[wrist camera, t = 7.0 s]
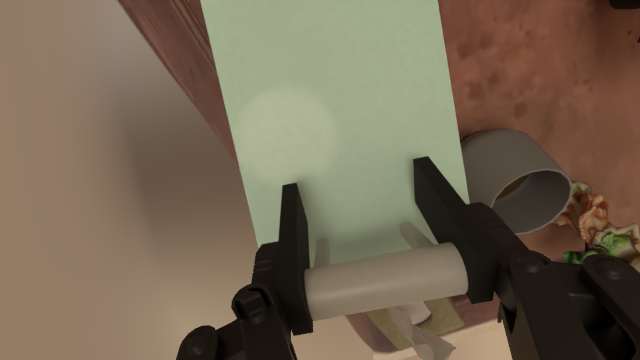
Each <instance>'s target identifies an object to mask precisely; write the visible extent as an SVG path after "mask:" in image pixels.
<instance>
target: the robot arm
mask: <svg viewBox="0 0 640 360" xmlns="http://www.w3.org/2000/svg"><path fill="white" fill-rule="evenodd" d="M413 167H414V194H415V203H416V205H417V206H418V208H419V210H420V212H421V214H422V215H423V217H424V219H425V221H426V223H427V224H428V226H429V228H430V230H431V232H432V233H433V235H434V237H435V239H436V241H437V242H438V244H441V243H446V242H451V243H452V244H454V246H455V247H456V248H457V250H458V251H459V253H460V255H461V257H462V260H463V262H464V265H465V268H466V272H467V277H468V291H467V292H466V294H467V296H468V298H469V300H470V301H471V303H472V304H476V303H482V302H487V301H492V300H493V294H494V291H495V293H496V294H497V296H498V297H499V299H500V300H501V301H500V306H499V312H498V322H499V323H501V320H503V324H504V328H505V332H506V336H507V340H508V343H509V347H510V351H511V355H512V359H513V360H640V273H639V272H638V271H637V270H636V269H635V268H634V267H633V266H631V265H630V264H628V263H627V262H625V261H624V260H621V259H619V258H617V257H614V256H610V255H606V254H592V255H589V256H587V257H586V258H585V259H584V260H583V262H582V264H573V263H559V262H552V261H551V260H550V259H549V258H547V257H546V256H544V255H543V254H541V253H538V252H536V251H531V250H529V249H528V248H527V247H526V246H525V245H524V244H523V243H522V241H521V240H520V239H519V238H518V237H517V236H516V235H515V234H514V232H513V231H512V230H511V229H510V228H509V227H508V226H507V225H505V222H504V221H503V220H502V219H501V218H499V216H498V215H497V213H496V212H495V211H494V210H493V209H492V208H491V207H489V206H487V205H486V204H484V203H482V202H475V203H470V204H466V203H465V202H464V201H463V200H462V198H461V197H460V196H459V195H458V193H457V192H456V191H455V189H454V188H453V187H452V186H451V184H450V183H449V182H448V181H447V179H446V178H445V177H444V176H443V174H442V173H441V172H440V170H439V169H438V168H437V167H436V165H435V164H434V163H433V162H432V160H431V159H430V158H429V157H428V156H426V157H421V158H416V159H413ZM309 268H310V257H309V237H308V221H307V218H306V214H305V211H304V207H303V203H302V200H301V196H300V193H299V189H298V186H297V182H296V183H291V184H286V185H282V197H281V211H280V225H279V238H278V241H276V242H271V243H266V244H262V245H261V246H260V248H259V250H258V251H257V253H256V256H255V265H254V270H253V272H254V273H253V276H252V283H251V284H249V285H247V286H245V287H243V288H242V289H240V290H239V291H238V292H237V294H235V296H234V298H233V300H232V306H231V308H232V310H233V311H234V313H235V315H236V317H237V319H236V320H235V321H233V322H232V323H229V324H227V325H225V326H224V327H221V328H219V329H217V330H215V328H214V327H212V326H201V327H198V328H196V329H194V330H193V331H191V332H190V333H189V334H188V335H187V336H186V337H185V339H184V340H183V341H182V343H181V345H180V348H179V351H178V354H177V358H176V360H297V357H296V353H295V350H294V347H293V345H292V343H291V330H292V333H293V335H294V336H295V335H301V334H306V333H312V332H313V320H312V319H311V317H310V314H309V310H308V306H307V301H306V295H305V286H304V271H305V270H306V269H309Z"/></svg>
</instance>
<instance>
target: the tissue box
mask: <svg viewBox="0 0 640 360" xmlns="http://www.w3.org/2000/svg"><path fill="white" fill-rule="evenodd" d="M364 313H365V314H366V315H367V316H368V317H369V318H370V320H371V321H372V322H373V323H374V324H375V325H376V326H377V327H378V328H379V329H380V330H381V331H382V332H383V333H384V335H385V336H386V337H387V338H388V339H389V340H390V341H391V342H392V343H393V344H394V345H395V346H396V347H397V349H398V350H400V351H401V350H403V349H406V348H408V347H411V346H413V348H414V349H415V351H416V352H417V354H418V355H419V356H420V358H422V359H423V360H448V358H449V356H450V354H451V352H452V351H453V350H454V349H456V347H454V346H453V345H451V344H450V343H448V342H446V341H445V340H443V339H441V338H440V337H438V336H439V335H442V334H444V333H447V332H450V331H452V330H455V329H457V328H460V327H462V326H464V322H463V320H462V318H461V316H460V314H459V312H458V310H457V308H456V306H455V304H454V302H453V300H452V298H451V296H449V297H443V298H438V299H432V300H427V301H421V302H416V303H410V304H405V305H399V306H394V307H388V308H383V309H377V310H372V311H366V312H364Z"/></svg>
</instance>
